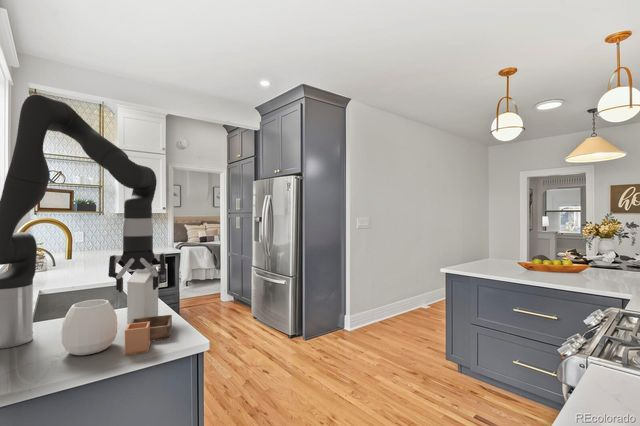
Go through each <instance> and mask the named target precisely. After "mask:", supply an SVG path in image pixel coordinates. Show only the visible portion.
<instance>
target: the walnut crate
mask: <svg viewBox="0 0 640 426" xmlns="http://www.w3.org/2000/svg"><path fill="white" fill-rule="evenodd" d="M172 319H173V315H172V314H166V315H158V316H154V317H144V318H134V319H132V321H131V322H130V324H131V323H141V322H150V342H152V341H153V340H155V341H160V340H161V339H163V340H168V339H169V338H171V334H170V333H172V327H173V323H172V322H173V320H172ZM153 342H154V341H153Z"/></svg>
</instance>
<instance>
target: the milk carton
mask: <svg viewBox="0 0 640 426" xmlns="http://www.w3.org/2000/svg"><path fill="white" fill-rule="evenodd" d="M153 276H154V275H153V274H152V273H151V272H150V271H149V270H148V269H147V268H145V269H143V270H140V269H136V270H134V272H133V273H132V274H131V276H130V277H129V278H128V280H127V286H126V288H127V291H126V292H127V294H126V295H127V296H126V298H127V299H126V303H127V305H126V307H127V309H126V310H127V311H126V313H127V314H126V319H127V320H126V323H127V325H128V324H130V322H131V321H132V319H134V318H144V317H154V316H159V286H158V287H157V288H156V290H153Z"/></svg>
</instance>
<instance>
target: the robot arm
mask: <svg viewBox="0 0 640 426" xmlns="http://www.w3.org/2000/svg"><path fill="white" fill-rule="evenodd" d="M17 127H18V129H17V132H16V134H17V135H16V140H15V144H14V149H13V153H12V157H11V161H10V165H9V167H8V169H7V173H6V178H5V180H4V185H3V188H2V192H1V196H0V266H3V265H9V264H10V267H9V268H8V269H6V271H4V272H2V273H0V349H8V348H13V347H14V348H15V347H17V346H21V345H24V344H26V343H29V342H31V341H32V340H33V338H34V334H33V333H34V330H33V327H34V321H33V320H34V312H33V311H34V278H35V274H36V270H37V269H36V268H37V266H36V265H37V254H38V248H37V247H38V246H37V240H36V238H35V237H34V235H33V234H31V233H29V232H27V231H26V232H25V231H23V232H21V231H20V232H15V229H16V228H17V226H18V224H19V223H20V222H21V220H23V218H24V217H25V216H26V215H27V214H28V213H30V212H31V211H32V210H33V209H34V208H35V207H36V206H38V204H39V203H40V202H41V201H42V200H43V199H44V197H45V195H46V192H47V189H48V185H49V182H50V178H51V176H50V175H51V173H50V172H51V171H50V168H49V166H48V161H47V159H46V156H45V154H44V153H45V152H44V143H45V140H46V139H45V138H46V134H47V132H48V131H51V132H56V133H57V132H58V133H61V134H64V135H65V136H68V137H69V138H71V139H73V140H74V141H75V142H77V143H78V144H79V146H81V148H82V150H83V152H84V153H85V154H86V155H87V156H88V158H90V159H91V160H92V161H93V162H95V163H97V164H98V165H99V166H101V168H104V169H105V170H106V171H108V172H109V174H110V175H111V176H112V177H113V178H114V179H115V180H116V181H117V182H118V184H120V185H122V186H124V187H125V188H128V189H131V190H132V192H131V197H129V198H126V200H125V201H124V203H123V213H124V214H123V225H122V254H121V255H116V254H113V255H110V257H109V264H108V277H109V278H112V279H113V278H115V289H116V290H117V291H118V293H122V292H124V277H123V276H124V275H125V274H126V273H127V271H128V270H131V271H135V270H136V269H140V270H143V269H148V270H149V271H150V272H151V273H152V274H153V275H154V276H153V290H156V288H157V287H158V288H159V286H160V285H159V284H160V280H159V279H160V276H162V275H165V274H166V273H167V272H166V270H167V269H166V255H165V253H164V252H161V253H154V243H153V241H154V227H153V220H152V218H153V207H152V206H153V205H152V204H153V201H154V198H155V193H156V189H157V181H158V180H157V176H156V173H155V171H154V170H153V169H152V168H151V167H148V166H145V165H141V164H137V163H136V162H134V161H132V160H131V159H130V158H129V155H128V154H127V153H126V152H125V151H123V150H122V149H121V148H120V147H118V146H117V145H115V144H114V143H112V142H111V141H109V140H108V139H107V138H106V137H104V136H103V135H102V134H100V133H99V132H98V131H96V129H94V128H93V127H92V126H91V125H90V124H89V123H88V122H86V121H85V120H84V119H83V118H82V117H81V116H80V115H79V114H78V112H77V111H76V110H74V108H72V107H71V106H70V105H69V104H68V103H67V102H64V101H63V100H59V99H56V98H52V97H49V96H46V95H43V94H39V93H34V94H30V95H29V96H27V97H26V98H25V99H24V101H23V103H22V105H21V108H20V114H19V118H18V126H17ZM154 259H156V260H157V262H159V269H160V270H157V268H156V267H155V266H154V265H153V263H152V261H154ZM120 260H121V262H122V263H123V264H124V266H123V267H122V268H121V269H120V271H119V272H116V267H117V264H118V263H119V261H120Z"/></svg>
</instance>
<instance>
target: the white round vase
mask: <svg viewBox="0 0 640 426" xmlns="http://www.w3.org/2000/svg"><path fill="white" fill-rule="evenodd" d="M61 327H62V328H61V343H62V346H63V347H64V350H65V351H66V352H67V353H69V354H71V355H74V356H86V355H91V354H96V353H100V352H102V351H105V350H106V349H108V348H109V347H110V346H112V344H113V343H114V341H115V339H116V337H117V334H118V316H117V313H116V311H115V308H114V307H113V306H112V304H111V302H110V301H109V300H107V299H89V300H84V301H79V302H77V303H76V302H75V303H73V304H72V305H71V307H70V308H69V310H68V311H67V313H66V314H65V316H64V319H63V321H62V325H61Z"/></svg>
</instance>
